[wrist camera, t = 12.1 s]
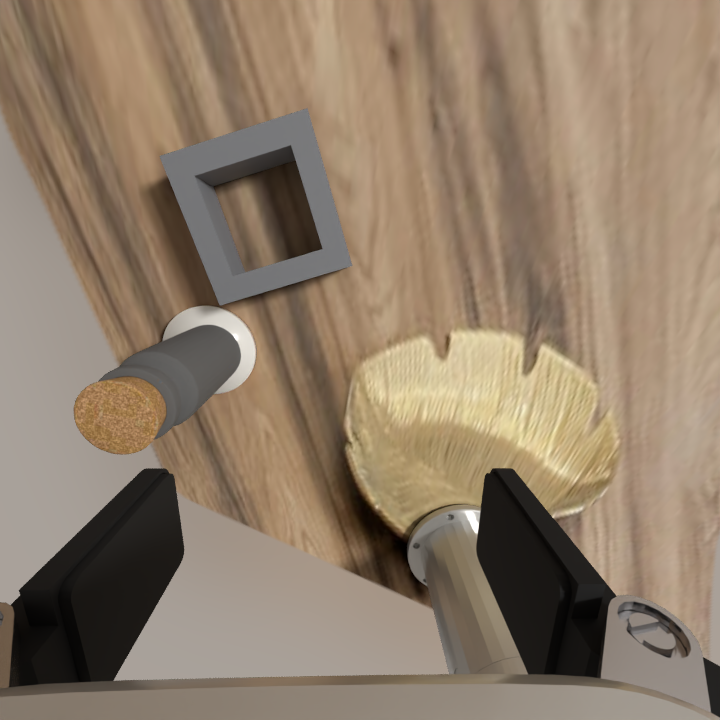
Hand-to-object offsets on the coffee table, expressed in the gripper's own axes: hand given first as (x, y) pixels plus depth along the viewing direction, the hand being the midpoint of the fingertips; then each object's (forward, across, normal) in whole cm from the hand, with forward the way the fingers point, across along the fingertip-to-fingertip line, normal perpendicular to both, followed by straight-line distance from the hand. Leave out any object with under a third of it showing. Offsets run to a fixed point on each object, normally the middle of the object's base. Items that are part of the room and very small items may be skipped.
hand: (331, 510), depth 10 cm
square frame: (+26, +7, -11) cm, 29 cm away
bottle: (+25, +13, +1) cm, 28 cm away
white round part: (+26, +14, +1) cm, 29 cm away
